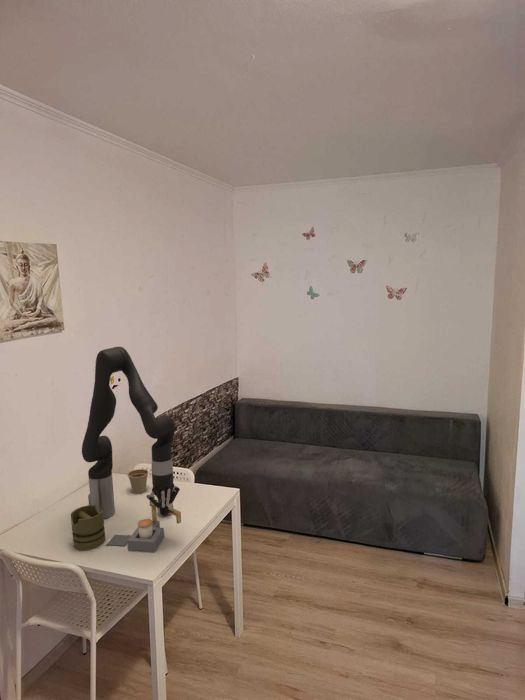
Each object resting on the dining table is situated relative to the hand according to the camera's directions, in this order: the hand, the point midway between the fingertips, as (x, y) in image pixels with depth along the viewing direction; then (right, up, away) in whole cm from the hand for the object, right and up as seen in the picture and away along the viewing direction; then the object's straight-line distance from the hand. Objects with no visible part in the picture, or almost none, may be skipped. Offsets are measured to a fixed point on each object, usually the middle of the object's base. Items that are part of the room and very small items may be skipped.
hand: (164, 515), depth 178 cm
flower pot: (-21, -5, +46) cm, 51 cm away
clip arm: (0, -2, +4) cm, 4 cm away
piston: (-29, -11, +3) cm, 31 cm away
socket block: (-6, -10, +3) cm, 13 cm away
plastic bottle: (-4, -7, +23) cm, 25 cm away
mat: (-17, -11, +3) cm, 21 cm away
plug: (-7, -11, +1) cm, 13 cm away
